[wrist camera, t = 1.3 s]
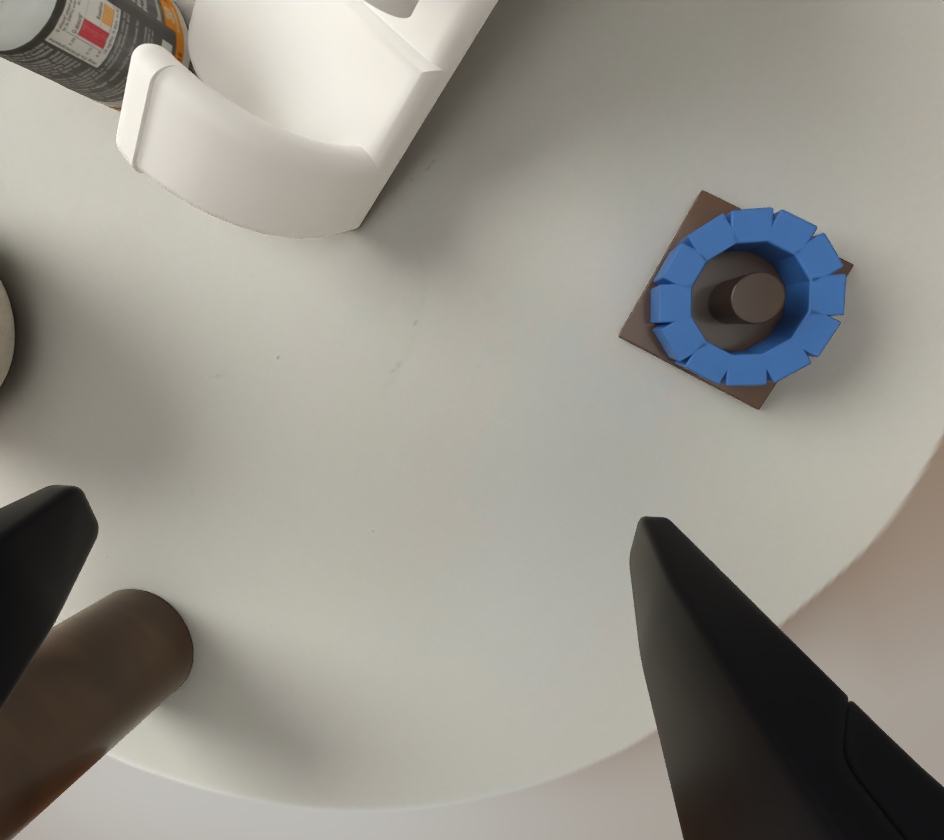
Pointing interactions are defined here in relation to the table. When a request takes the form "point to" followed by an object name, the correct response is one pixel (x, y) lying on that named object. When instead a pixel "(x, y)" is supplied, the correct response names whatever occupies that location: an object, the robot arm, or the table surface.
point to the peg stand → (721, 301)
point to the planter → (6, 334)
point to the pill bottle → (89, 40)
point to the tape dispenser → (292, 105)
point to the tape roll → (805, 296)
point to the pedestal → (86, 697)
